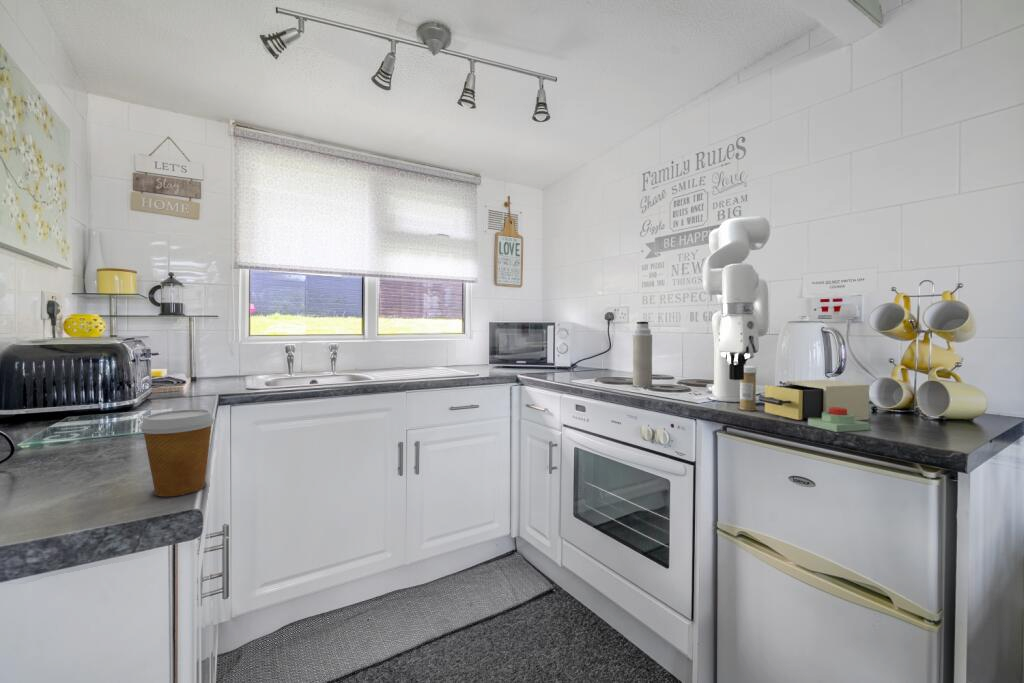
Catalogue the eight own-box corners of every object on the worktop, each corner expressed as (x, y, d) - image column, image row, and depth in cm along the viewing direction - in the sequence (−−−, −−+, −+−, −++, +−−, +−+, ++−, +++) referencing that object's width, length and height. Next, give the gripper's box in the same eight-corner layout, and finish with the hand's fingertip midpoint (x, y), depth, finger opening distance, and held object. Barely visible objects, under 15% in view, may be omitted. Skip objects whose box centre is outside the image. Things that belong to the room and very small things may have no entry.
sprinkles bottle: (758, 410, 136) (759, 366, 136) (750, 411, 134) (751, 367, 133) (744, 407, 140) (744, 365, 139) (736, 409, 137) (736, 366, 137)
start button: (825, 414, 114) (825, 407, 114) (836, 413, 114) (837, 406, 114) (839, 417, 110) (839, 409, 110) (850, 416, 111) (850, 409, 111)
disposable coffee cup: (229, 478, 75) (227, 408, 75) (190, 500, 66) (188, 419, 65) (171, 479, 75) (169, 408, 74) (124, 501, 65) (121, 420, 65)
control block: (807, 425, 115) (807, 411, 115) (838, 423, 117) (838, 409, 117) (836, 432, 107) (837, 417, 107) (869, 429, 110) (869, 415, 109)
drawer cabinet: (825, 422, 118) (826, 386, 118) (786, 413, 131) (786, 381, 130) (868, 419, 122) (869, 384, 122) (826, 411, 134) (826, 379, 134)
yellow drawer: (785, 420, 116) (785, 391, 116) (752, 412, 127) (752, 385, 127) (839, 417, 120) (840, 388, 120) (802, 410, 131) (803, 383, 131)
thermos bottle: (648, 384, 197) (649, 321, 197) (654, 387, 190) (654, 321, 189) (630, 384, 198) (631, 321, 197) (635, 387, 190) (635, 321, 189)
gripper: (771, 309, 112) (770, 382, 112) (729, 312, 126) (728, 376, 127) (746, 309, 110) (745, 382, 110) (706, 312, 125) (705, 377, 125)
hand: (736, 379), depth 119 cm, fingers closed
